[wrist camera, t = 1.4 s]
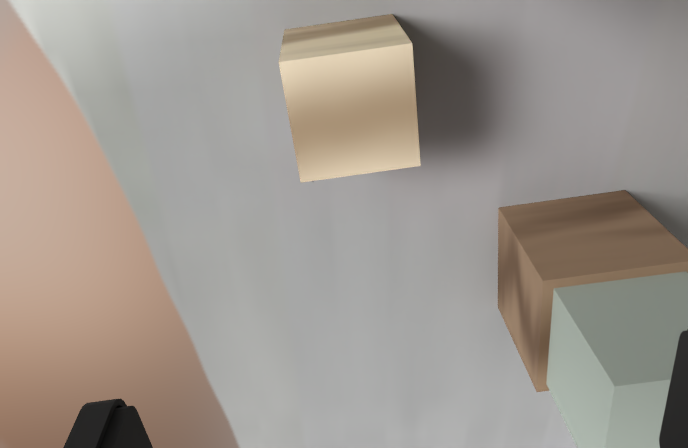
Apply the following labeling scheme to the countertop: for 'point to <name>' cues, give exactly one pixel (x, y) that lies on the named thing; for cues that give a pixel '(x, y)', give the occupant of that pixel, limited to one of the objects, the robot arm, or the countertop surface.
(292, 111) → the ash block
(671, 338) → the sage top block
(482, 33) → the countertop surface
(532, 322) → the walnut base block
